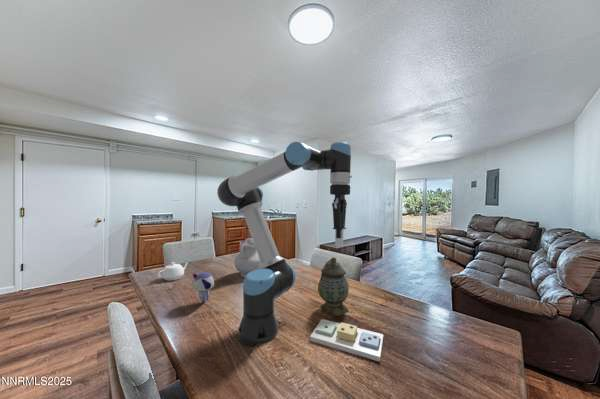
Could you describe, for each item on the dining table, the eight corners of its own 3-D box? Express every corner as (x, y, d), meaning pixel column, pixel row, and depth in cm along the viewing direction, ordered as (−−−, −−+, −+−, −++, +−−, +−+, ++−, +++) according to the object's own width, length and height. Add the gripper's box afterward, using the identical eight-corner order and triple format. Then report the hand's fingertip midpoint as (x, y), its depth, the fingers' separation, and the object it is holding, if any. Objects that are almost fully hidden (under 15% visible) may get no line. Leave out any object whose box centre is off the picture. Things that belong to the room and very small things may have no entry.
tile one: (316, 335, 84) (316, 328, 84) (321, 327, 89) (321, 320, 89) (331, 340, 81) (331, 332, 81) (335, 331, 87) (336, 324, 87)
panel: (309, 343, 81) (310, 336, 81) (321, 324, 93) (321, 318, 93) (379, 364, 71) (380, 356, 71) (383, 341, 83) (383, 334, 83)
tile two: (336, 337, 81) (337, 330, 81) (341, 328, 86) (341, 321, 86) (353, 342, 78) (353, 334, 78) (356, 332, 84) (357, 325, 83)
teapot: (182, 271, 155) (182, 257, 155) (194, 275, 149) (194, 260, 149) (152, 281, 138) (152, 264, 138) (163, 285, 132) (163, 268, 132)
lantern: (346, 321, 96) (347, 263, 96) (314, 315, 101) (315, 259, 100) (350, 306, 109) (351, 255, 109) (322, 301, 114) (323, 252, 114)
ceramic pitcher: (258, 283, 140) (262, 243, 140) (227, 280, 140) (231, 240, 140) (264, 271, 162) (267, 237, 162) (237, 269, 162) (241, 234, 162)
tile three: (359, 348, 77) (359, 340, 77) (362, 338, 83) (362, 331, 83) (377, 353, 75) (377, 345, 75) (379, 343, 80) (379, 335, 80)
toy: (218, 303, 111) (218, 272, 111) (198, 310, 104) (198, 277, 103) (208, 296, 118) (208, 267, 118) (189, 302, 111) (189, 272, 111)
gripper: (346, 183, 78) (344, 251, 78) (353, 185, 89) (352, 244, 90) (325, 183, 81) (324, 248, 81) (335, 185, 93) (334, 242, 93)
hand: (339, 246), depth 85 cm, fingers closed
